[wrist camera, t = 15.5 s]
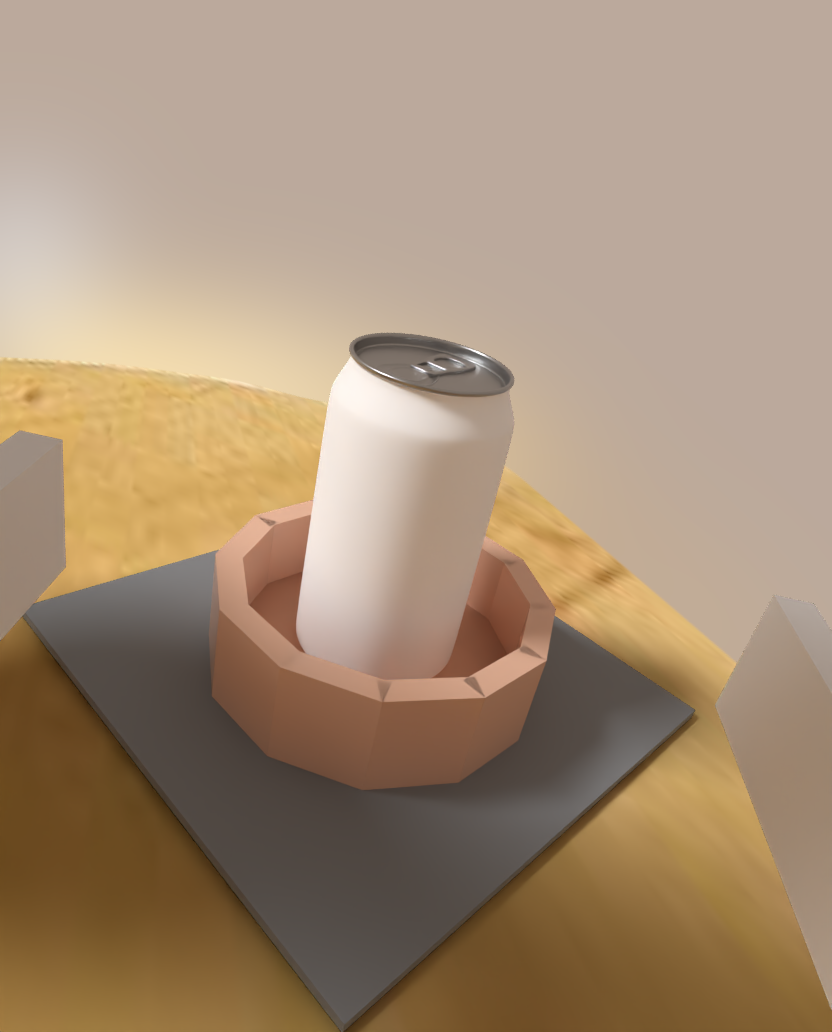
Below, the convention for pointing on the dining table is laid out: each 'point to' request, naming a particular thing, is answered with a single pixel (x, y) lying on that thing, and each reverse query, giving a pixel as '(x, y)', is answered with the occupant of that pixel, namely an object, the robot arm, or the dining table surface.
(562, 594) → the dining table surface
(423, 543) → the can
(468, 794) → the mat
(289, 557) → the bowl
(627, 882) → the dining table surface
